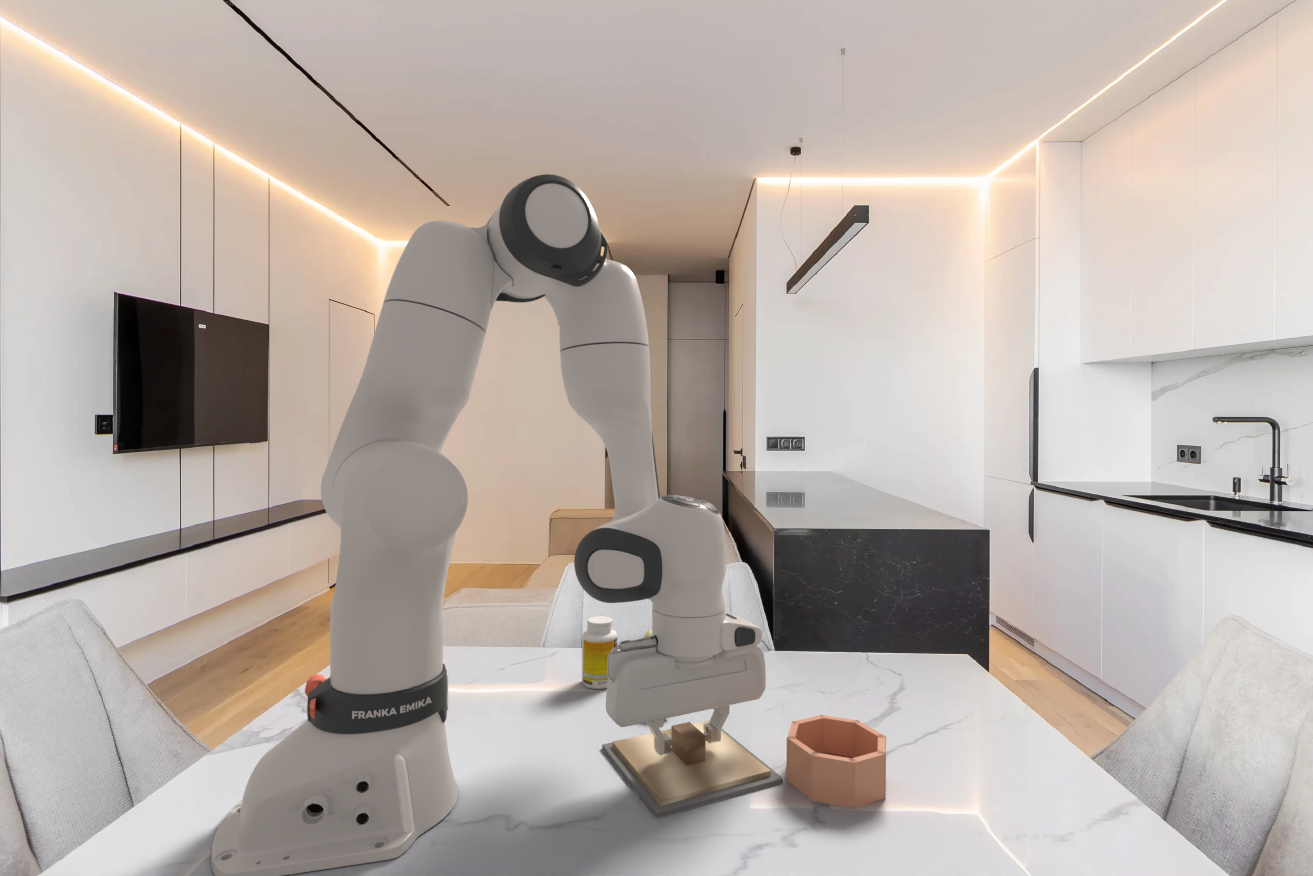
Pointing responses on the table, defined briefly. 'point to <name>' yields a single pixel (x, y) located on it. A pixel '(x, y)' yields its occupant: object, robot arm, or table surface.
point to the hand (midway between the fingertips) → (687, 746)
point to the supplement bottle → (597, 651)
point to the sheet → (691, 776)
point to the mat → (694, 801)
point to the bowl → (837, 761)
